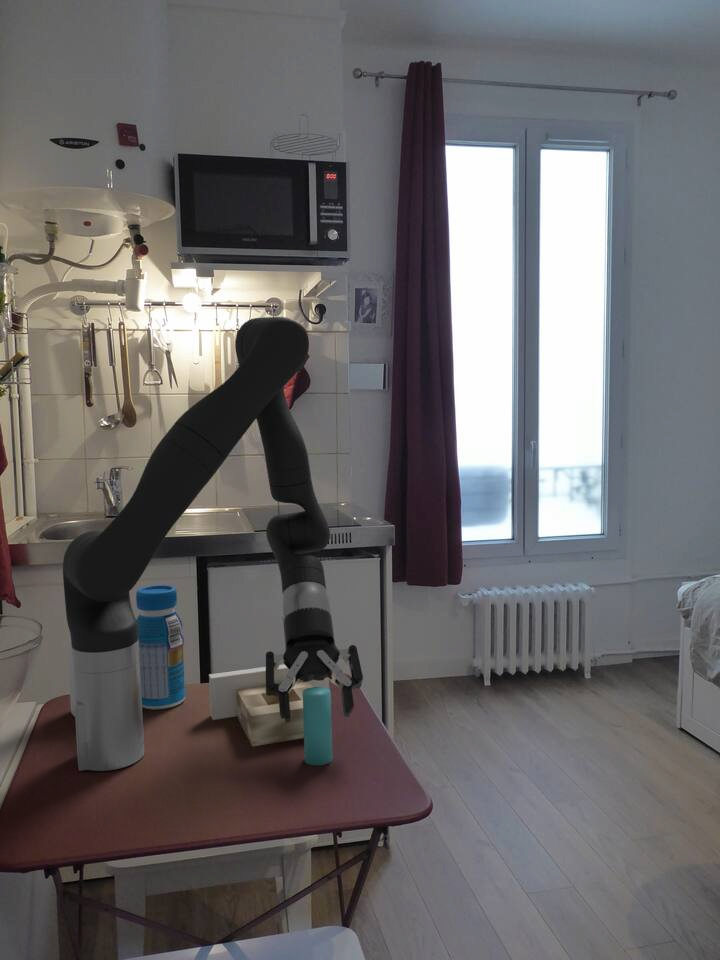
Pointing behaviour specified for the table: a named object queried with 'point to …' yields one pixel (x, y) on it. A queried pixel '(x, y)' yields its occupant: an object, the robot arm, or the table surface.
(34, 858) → the table surface
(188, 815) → the table surface
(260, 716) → the socket block
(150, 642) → the beverage bottle
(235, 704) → the backstop wall
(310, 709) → the teal rounded cylinder
